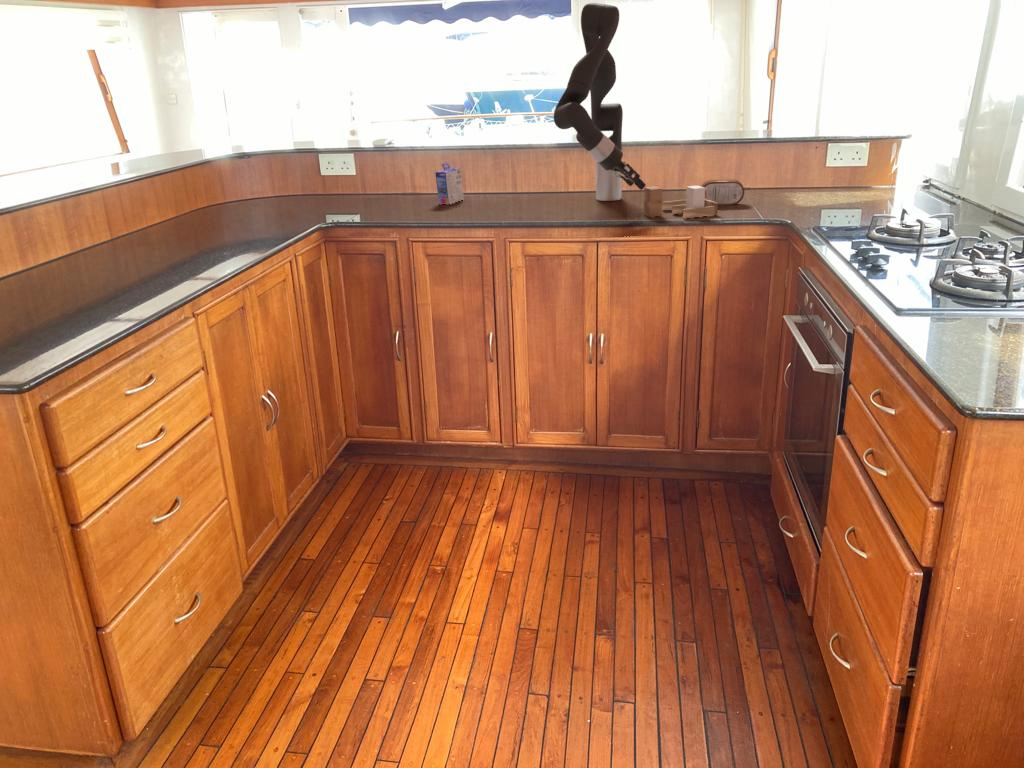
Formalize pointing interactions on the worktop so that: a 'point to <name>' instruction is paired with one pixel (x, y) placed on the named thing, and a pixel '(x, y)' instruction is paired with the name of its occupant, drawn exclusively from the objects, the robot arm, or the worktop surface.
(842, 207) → the worktop surface
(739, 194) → the tin
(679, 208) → the rack
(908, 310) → the worktop surface
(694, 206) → the white block
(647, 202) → the tan block
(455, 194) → the ink cartridge box
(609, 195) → the robot arm
